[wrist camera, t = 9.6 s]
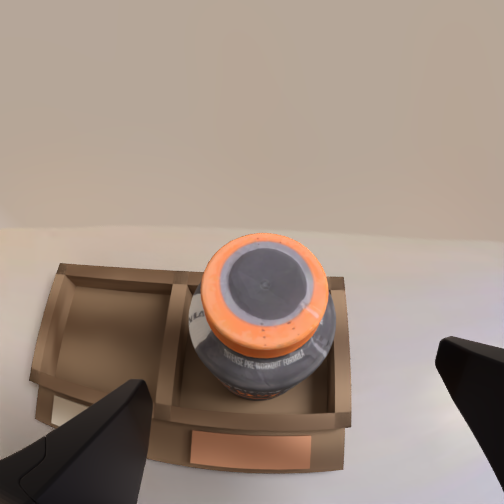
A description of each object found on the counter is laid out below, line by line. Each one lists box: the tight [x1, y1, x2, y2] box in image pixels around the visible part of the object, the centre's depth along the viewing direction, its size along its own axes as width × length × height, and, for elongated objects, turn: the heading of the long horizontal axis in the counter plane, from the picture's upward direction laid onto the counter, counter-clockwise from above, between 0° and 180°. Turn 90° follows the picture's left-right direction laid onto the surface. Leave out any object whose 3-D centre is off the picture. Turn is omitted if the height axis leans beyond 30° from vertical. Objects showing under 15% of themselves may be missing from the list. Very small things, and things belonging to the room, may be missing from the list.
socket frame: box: [29, 263, 351, 473], centre depth 17 cm, size 13×22×2 cm, turn 87°
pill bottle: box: [189, 233, 336, 401], centre depth 13 cm, size 6×6×11 cm
